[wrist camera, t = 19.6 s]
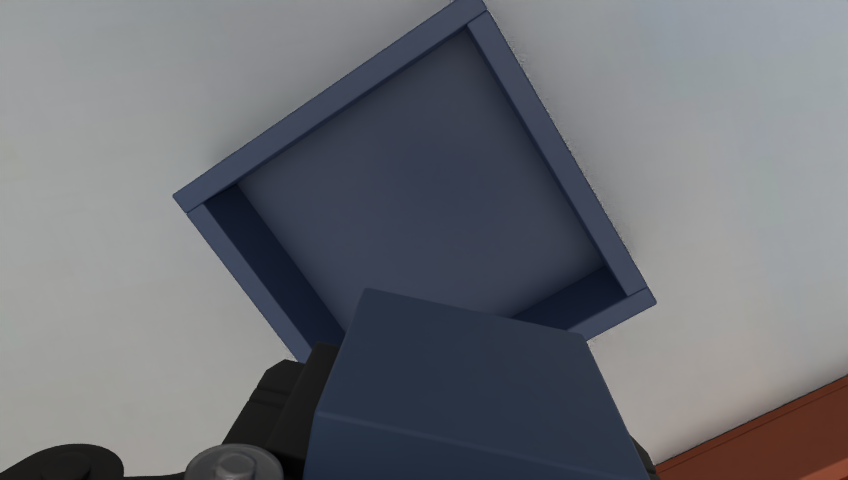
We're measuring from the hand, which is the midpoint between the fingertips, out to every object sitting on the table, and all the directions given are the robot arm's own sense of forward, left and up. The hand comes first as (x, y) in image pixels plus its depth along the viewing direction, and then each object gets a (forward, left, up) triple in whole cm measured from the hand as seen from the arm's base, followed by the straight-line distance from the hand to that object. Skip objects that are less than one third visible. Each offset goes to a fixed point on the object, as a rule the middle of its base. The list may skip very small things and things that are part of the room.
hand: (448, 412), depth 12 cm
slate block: (0, 0, 0) cm, 0 cm away
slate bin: (-1, -1, -14) cm, 14 cm away
